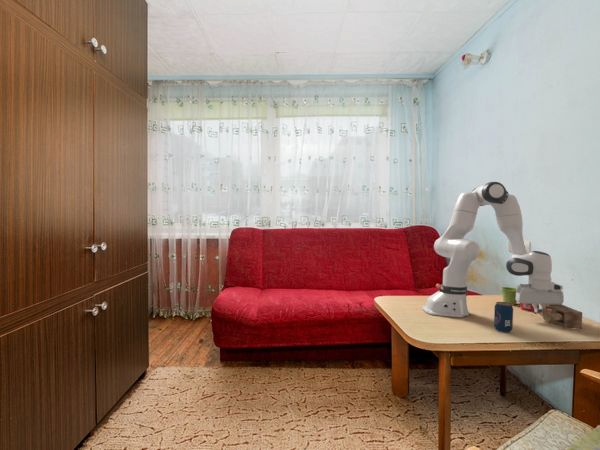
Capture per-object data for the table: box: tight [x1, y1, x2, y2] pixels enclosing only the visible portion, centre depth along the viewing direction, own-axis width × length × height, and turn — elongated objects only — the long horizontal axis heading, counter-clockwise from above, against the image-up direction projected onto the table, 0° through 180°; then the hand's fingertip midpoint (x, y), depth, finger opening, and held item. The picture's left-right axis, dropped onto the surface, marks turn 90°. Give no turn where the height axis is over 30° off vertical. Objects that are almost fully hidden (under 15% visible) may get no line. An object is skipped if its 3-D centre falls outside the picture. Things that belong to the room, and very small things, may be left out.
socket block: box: [545, 303, 583, 330], centre depth 148 cm, size 7×14×8 cm, turn 175°
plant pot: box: [500, 286, 518, 306], centre depth 179 cm, size 9×9×9 cm
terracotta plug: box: [539, 308, 553, 317], centre depth 151 cm, size 8×4×4 cm, turn 85°
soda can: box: [493, 301, 514, 333], centre depth 138 cm, size 7×7×12 cm
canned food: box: [519, 303, 540, 313], centre depth 168 cm, size 8×8×11 cm
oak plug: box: [542, 312, 564, 322], centre depth 145 cm, size 8×4×4 cm, turn 85°
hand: (538, 312), depth 152 cm, fingers closed
